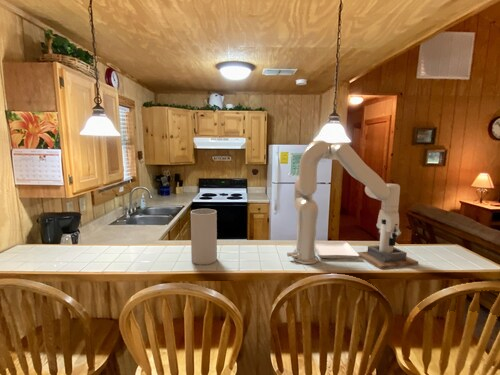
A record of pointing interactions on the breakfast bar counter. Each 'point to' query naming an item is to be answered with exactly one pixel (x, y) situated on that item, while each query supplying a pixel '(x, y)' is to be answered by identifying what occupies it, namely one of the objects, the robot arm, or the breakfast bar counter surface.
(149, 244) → the breakfast bar counter surface
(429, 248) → the breakfast bar counter surface
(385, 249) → the travel mug
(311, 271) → the breakfast bar counter surface
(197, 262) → the cylinder vase
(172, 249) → the breakfast bar counter surface
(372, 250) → the metal collar
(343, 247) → the salad plate
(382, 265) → the walnut board
